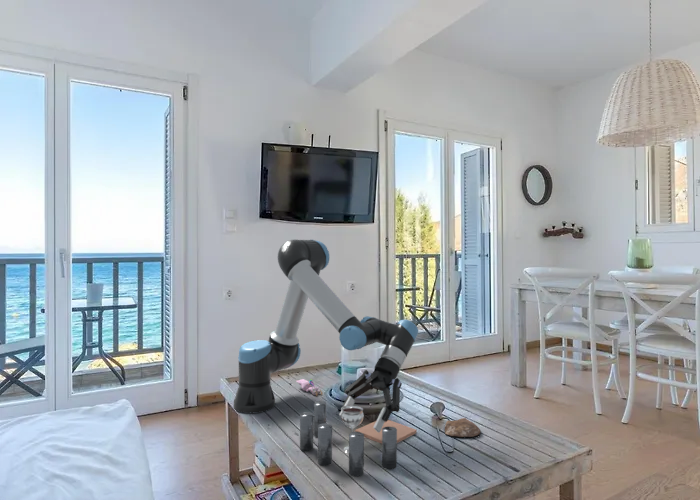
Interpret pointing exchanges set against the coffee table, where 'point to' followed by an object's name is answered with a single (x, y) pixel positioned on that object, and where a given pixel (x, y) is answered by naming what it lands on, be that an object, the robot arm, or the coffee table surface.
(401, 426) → the terracotta tile
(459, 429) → the shell
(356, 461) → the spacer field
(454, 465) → the coffee table surface
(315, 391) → the rabbit figure
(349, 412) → the wineglass
